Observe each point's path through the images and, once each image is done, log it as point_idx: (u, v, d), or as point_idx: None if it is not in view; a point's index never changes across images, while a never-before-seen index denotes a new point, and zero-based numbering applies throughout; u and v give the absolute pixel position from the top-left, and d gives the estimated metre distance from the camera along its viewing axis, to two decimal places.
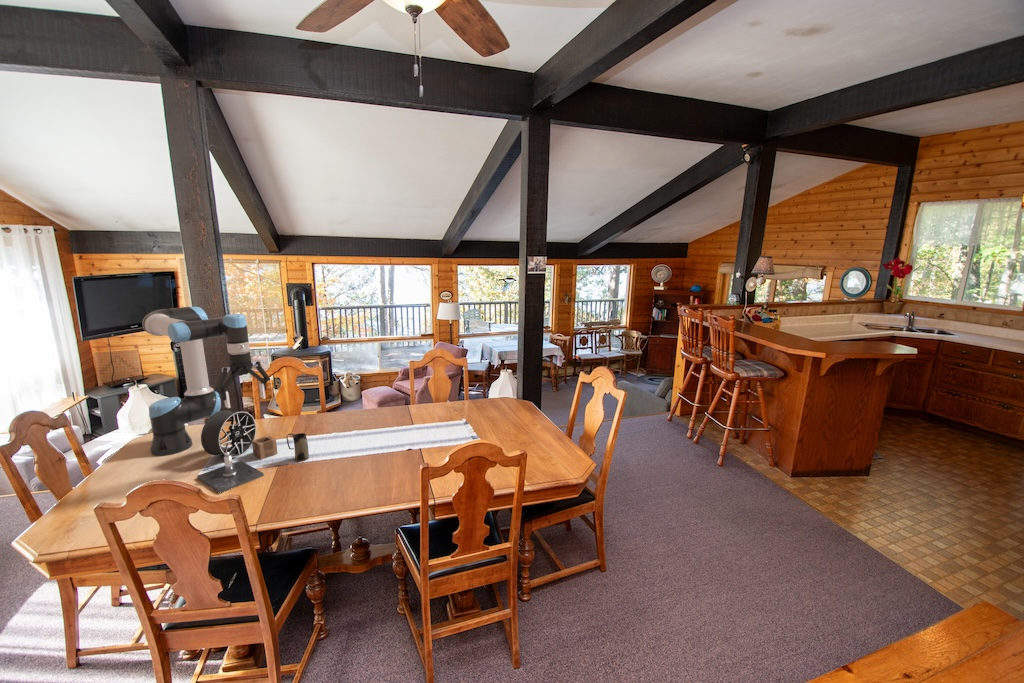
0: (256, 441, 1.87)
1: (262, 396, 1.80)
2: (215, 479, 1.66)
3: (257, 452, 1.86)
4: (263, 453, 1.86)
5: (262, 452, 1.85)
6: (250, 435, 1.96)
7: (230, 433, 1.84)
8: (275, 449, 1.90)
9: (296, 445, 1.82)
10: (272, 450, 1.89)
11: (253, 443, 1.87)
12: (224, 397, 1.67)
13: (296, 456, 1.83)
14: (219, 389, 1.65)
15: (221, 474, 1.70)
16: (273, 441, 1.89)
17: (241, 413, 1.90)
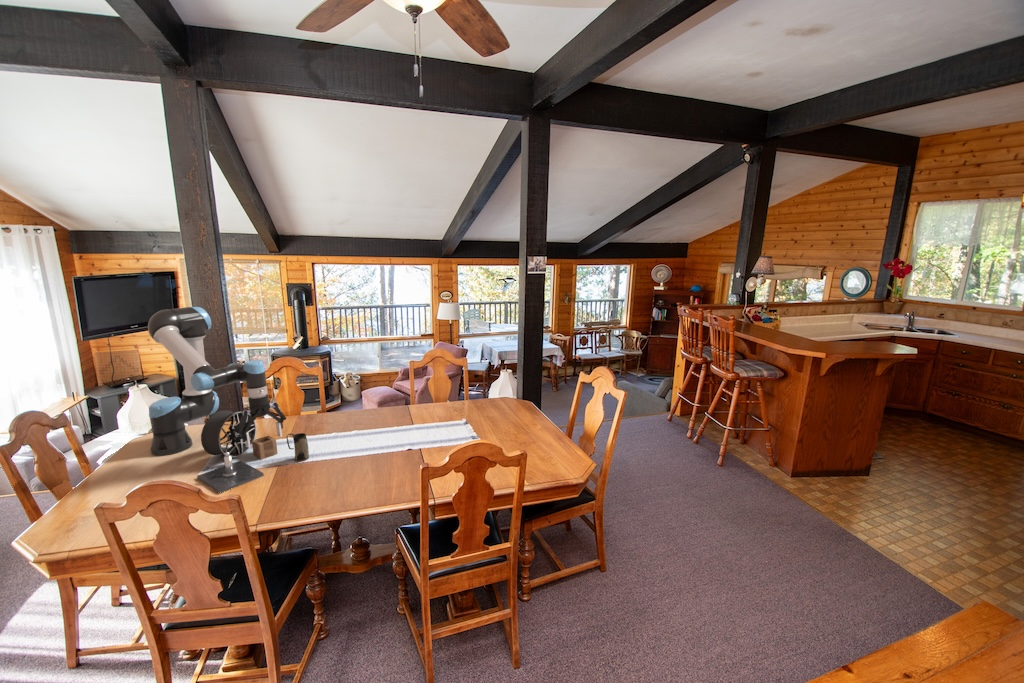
0: (256, 441, 1.87)
1: (279, 434, 1.93)
2: (215, 479, 1.66)
3: (257, 452, 1.86)
4: (263, 453, 1.86)
5: (262, 452, 1.85)
6: (250, 435, 1.96)
7: (230, 433, 1.84)
8: (275, 449, 1.90)
9: (296, 445, 1.82)
10: (272, 450, 1.89)
11: (253, 443, 1.87)
12: (245, 438, 1.81)
13: (296, 456, 1.83)
14: (240, 431, 1.79)
15: (221, 474, 1.70)
16: (273, 441, 1.89)
17: (241, 413, 1.90)
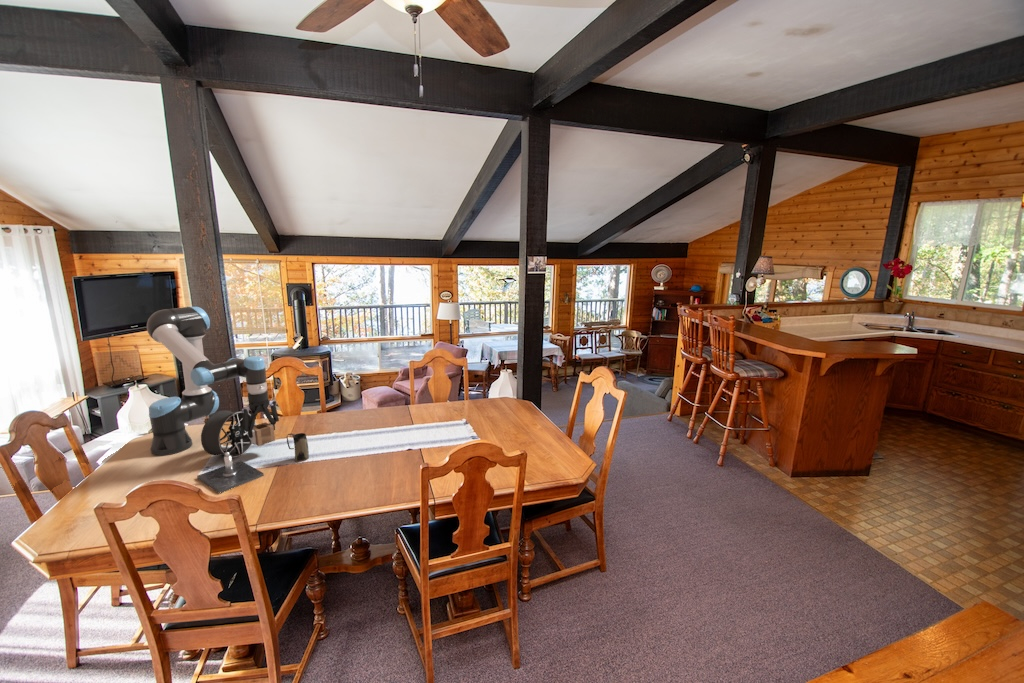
0: (254, 427, 1.86)
1: None
2: (215, 479, 1.66)
3: None
4: (261, 440, 1.85)
5: (259, 439, 1.84)
6: None
7: (230, 433, 1.84)
8: (273, 436, 1.89)
9: (296, 445, 1.82)
10: (269, 437, 1.88)
11: None
12: (251, 435, 1.84)
13: (296, 456, 1.83)
14: (246, 428, 1.81)
15: (221, 474, 1.70)
16: (271, 428, 1.88)
17: (241, 413, 1.90)
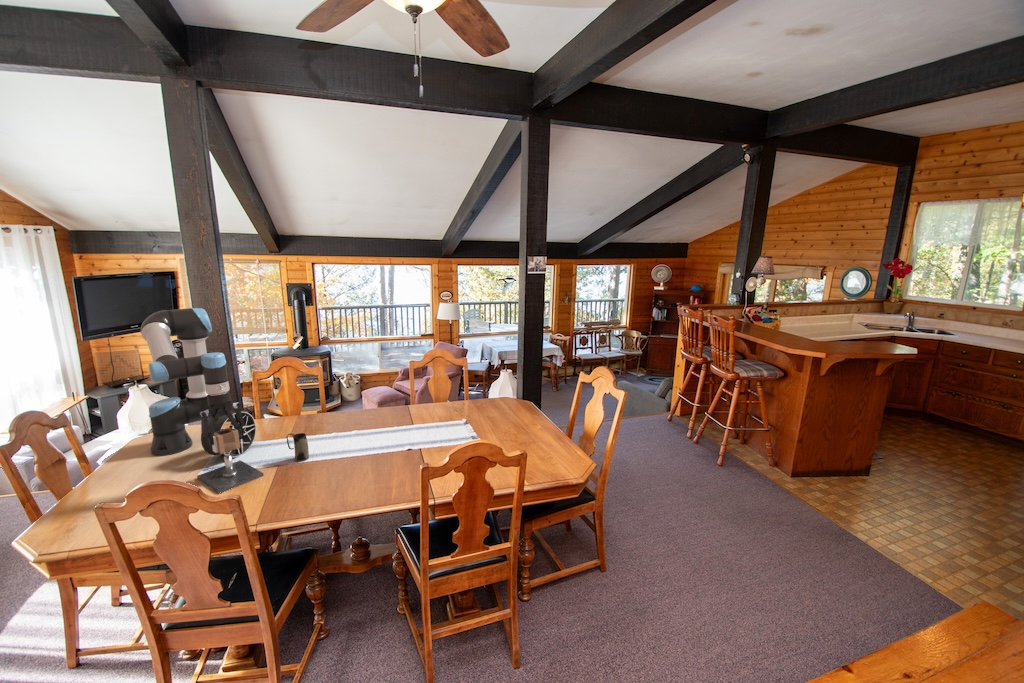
0: (215, 433, 1.65)
1: None
2: (215, 479, 1.66)
3: None
4: (223, 447, 1.64)
5: (222, 445, 1.63)
6: (250, 435, 1.96)
7: None
8: (237, 442, 1.68)
9: (296, 445, 1.82)
10: (234, 443, 1.67)
11: None
12: (212, 442, 1.63)
13: (296, 456, 1.83)
14: (206, 434, 1.60)
15: (221, 474, 1.70)
16: (235, 433, 1.67)
17: None
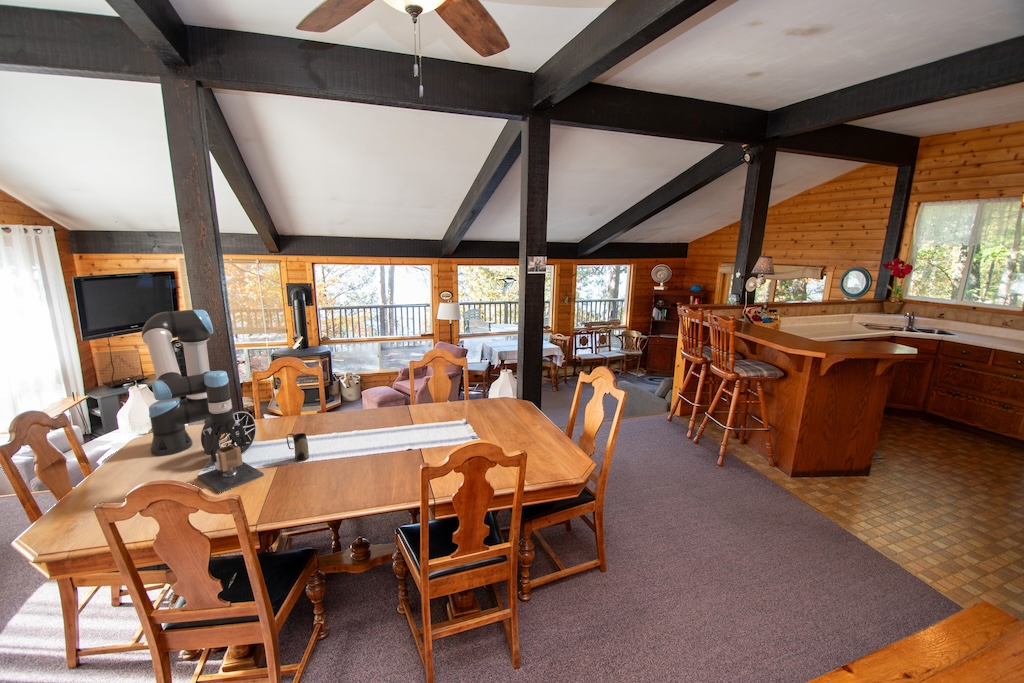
0: (218, 451, 1.66)
1: None
2: (215, 479, 1.66)
3: None
4: (226, 464, 1.65)
5: (224, 463, 1.65)
6: (250, 435, 1.96)
7: None
8: (240, 459, 1.69)
9: (296, 445, 1.82)
10: (236, 461, 1.68)
11: None
12: (214, 459, 1.64)
13: (296, 456, 1.83)
14: (208, 452, 1.62)
15: (221, 474, 1.70)
16: (237, 450, 1.68)
17: (241, 413, 1.90)
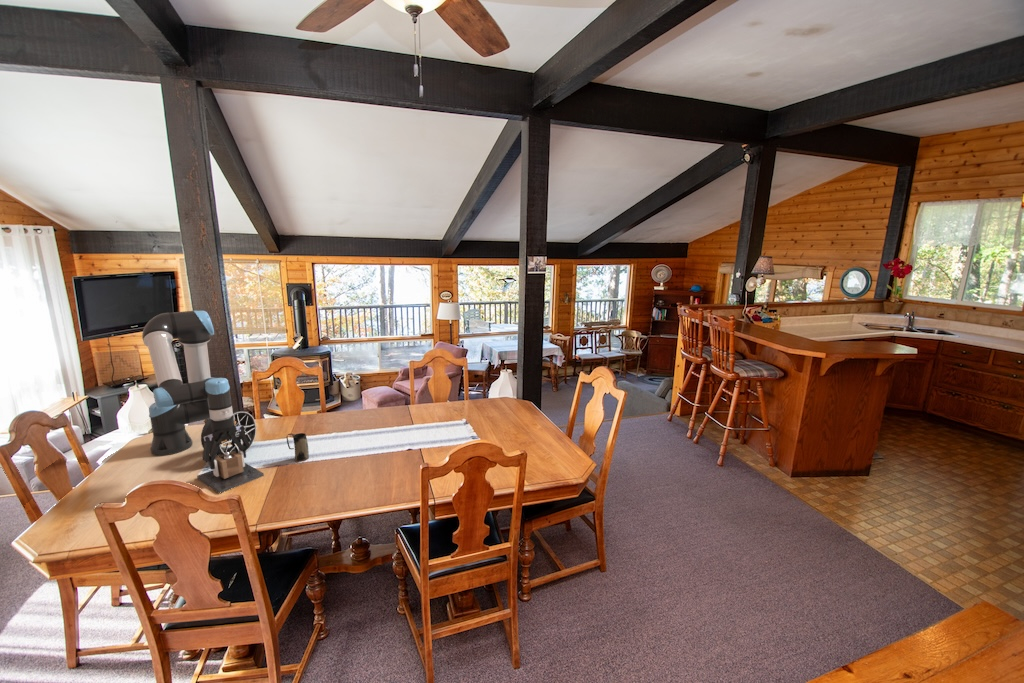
0: (219, 458, 1.67)
1: None
2: (215, 479, 1.66)
3: (220, 470, 1.66)
4: (227, 471, 1.66)
5: (225, 470, 1.65)
6: (250, 435, 1.96)
7: None
8: (241, 466, 1.70)
9: (296, 445, 1.82)
10: (237, 468, 1.69)
11: None
12: (212, 466, 1.64)
13: (296, 456, 1.83)
14: (207, 459, 1.62)
15: None
16: (238, 458, 1.69)
17: (241, 413, 1.90)
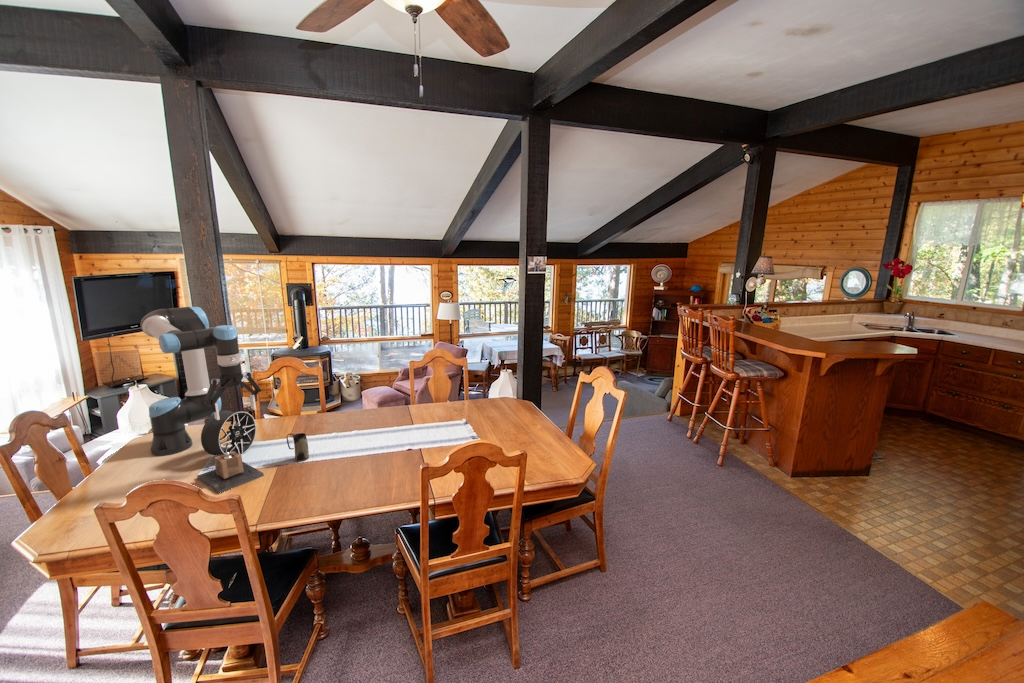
0: (219, 458, 1.67)
1: (253, 407, 1.78)
2: (215, 479, 1.66)
3: (220, 470, 1.66)
4: (227, 471, 1.66)
5: (225, 470, 1.65)
6: (250, 435, 1.96)
7: (230, 433, 1.84)
8: (241, 466, 1.70)
9: (296, 445, 1.82)
10: (237, 468, 1.69)
11: (215, 460, 1.67)
12: (213, 409, 1.66)
13: (296, 456, 1.83)
14: (208, 401, 1.64)
15: None
16: (238, 458, 1.69)
17: (241, 413, 1.90)
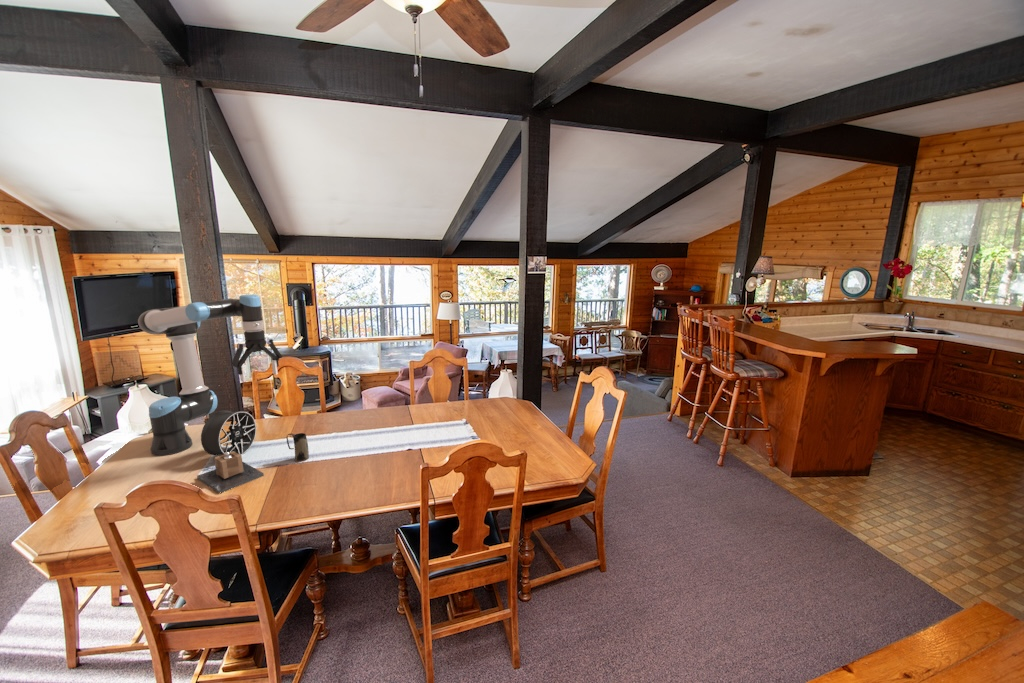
0: (219, 458, 1.67)
1: (274, 372, 1.92)
2: (215, 479, 1.66)
3: (220, 470, 1.66)
4: (227, 471, 1.66)
5: (225, 470, 1.65)
6: (250, 435, 1.96)
7: (230, 433, 1.84)
8: (241, 466, 1.70)
9: (296, 445, 1.82)
10: (237, 468, 1.69)
11: (215, 460, 1.67)
12: (240, 371, 1.80)
13: (296, 456, 1.83)
14: (235, 364, 1.77)
15: None
16: (238, 458, 1.69)
17: (241, 413, 1.90)
